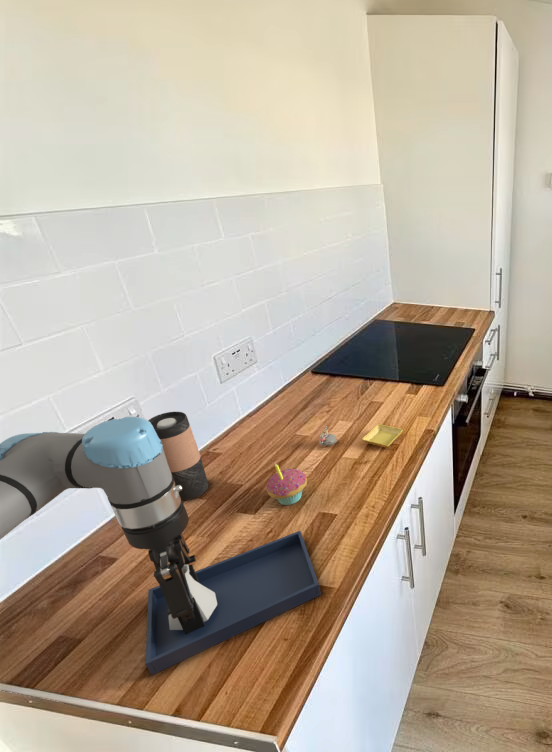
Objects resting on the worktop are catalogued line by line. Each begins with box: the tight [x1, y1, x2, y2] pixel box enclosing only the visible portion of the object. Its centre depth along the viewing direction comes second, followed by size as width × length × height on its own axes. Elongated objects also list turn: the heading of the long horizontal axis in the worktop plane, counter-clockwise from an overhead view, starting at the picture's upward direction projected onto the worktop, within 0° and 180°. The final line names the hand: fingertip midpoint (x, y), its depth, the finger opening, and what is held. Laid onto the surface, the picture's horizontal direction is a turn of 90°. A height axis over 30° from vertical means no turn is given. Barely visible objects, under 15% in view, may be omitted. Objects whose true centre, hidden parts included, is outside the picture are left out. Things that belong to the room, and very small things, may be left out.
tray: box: [145, 530, 322, 676], centre depth 79 cm, size 25×15×3 cm, turn 125°
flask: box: [169, 564, 217, 630], centre depth 73 cm, size 7×7×10 cm
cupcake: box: [265, 462, 308, 506], centre depth 100 cm, size 9×8×12 cm
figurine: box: [318, 424, 338, 448], centre depth 121 cm, size 5×4×6 cm
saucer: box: [361, 423, 404, 449], centre depth 125 cm, size 9×9×2 cm
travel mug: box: [147, 411, 209, 502], centre depth 99 cm, size 8×8×20 cm
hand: (193, 610), depth 75 cm, fingers closed on flask, 7 cm apart
